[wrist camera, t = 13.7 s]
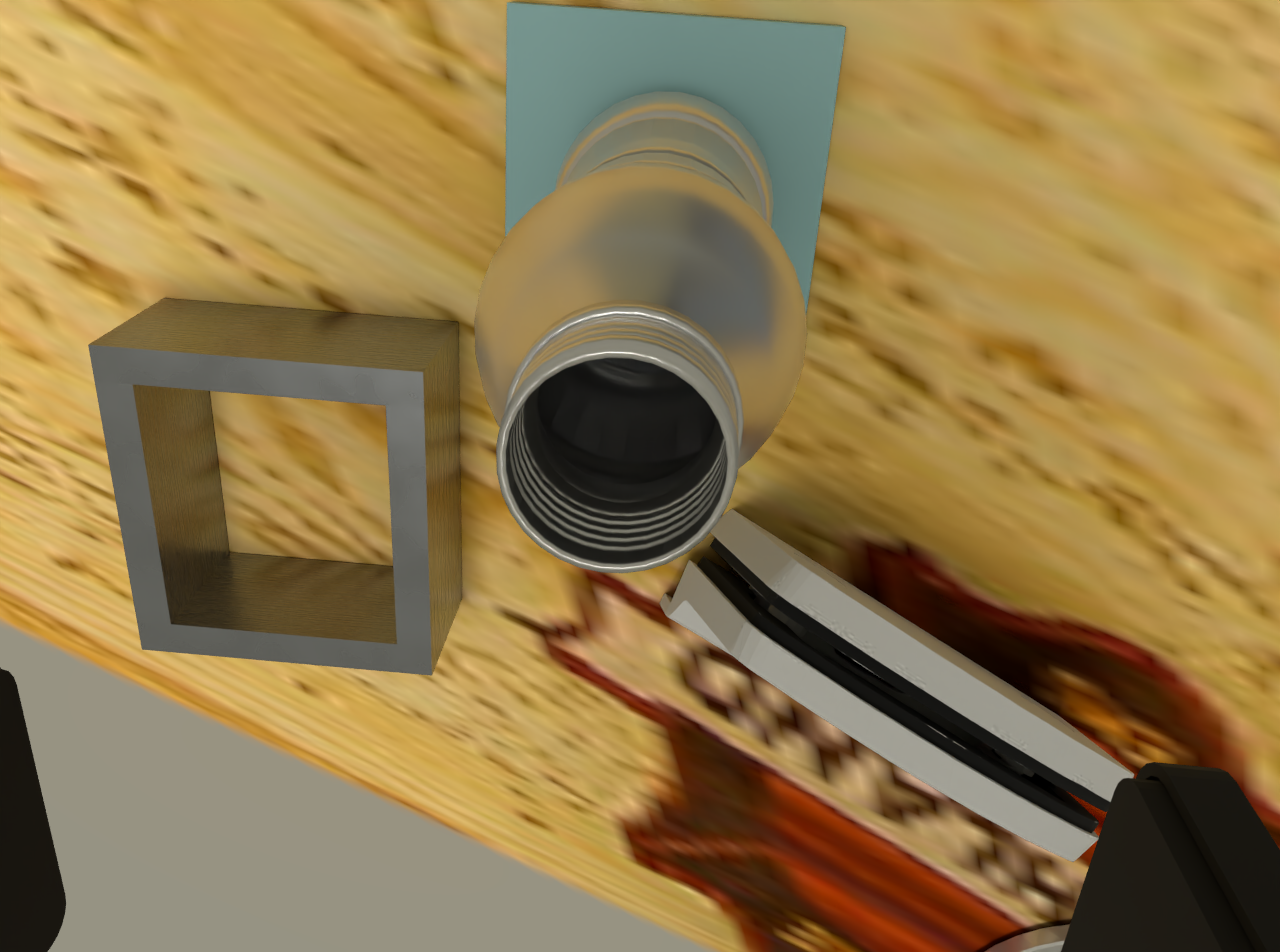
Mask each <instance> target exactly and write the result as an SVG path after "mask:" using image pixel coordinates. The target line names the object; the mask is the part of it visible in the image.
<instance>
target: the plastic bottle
mask: <svg viewBox="0 0 1280 952" xmlns="http://www.w3.org/2000/svg"><path fill="white" fill-rule="evenodd" d="M773 205H774V202H773V191H772V181H771V178H770V174H769V171H768V167H767V164H766V161H765V158H764V156H763V154H762V152H761V151H760V149H759V147H758V145H757V143H756V141H755V139H754V138H753V137H752V136H751V134H750V133H749V132H748V131H747V129H746V128H745V127H744V126H743V125H742V123H741V122H740V121H739V120H737V119H736V118H735V117H734V116H732V115H731V114H730V113H729V112H727V111H726V110H725V109H724V108H722V107H720V106H718V105H716V104H714V103H712V102H710V101H708V100H706V99H704V98H702V97H698V96H694V95H690V94H686V93H682V92H662V91H657V92H651V93H646V94H641V95H635V96H633V97H630V98H628V99H626V100H623V101H621V102H618V103H616V104H614V105H612V106H611V107H609V108H608V109H606V110H605V111H604V112H602V113H601V114H599V115H598V116H596V117H595V118H594V119H593V120H592V121H591V122H590V123H589V124H588V125H587V126H586V127H585V128H584V129H583V130H582V131H581V132H580V133H579V135H578V136H577V138H576V139H575V141H574V142H573V144H572V145H571V147H570V148H569V150H568V152H567V153H566V155H565V158H564V160H563V163H562V165H561V168H560V170H559V173H558V176H557V181H556V186H555V191H554V192H552V193H551V194H549V195H548V196H546V197H545V198H543V199H542V200H541V201H540V202H538V203H537V204H536V205H534V206H533V207H532V208H531V209H530V210H529V211H528V212H527V213H526V214H525V215H524V216H523V217H522V218H521V219H520V220H519V222H518V223H517V224H516V225H515V226H514V227H513V228H512V229H511V230H510V231H509V233H508V234H507V236H506V237H505V239H504V240H503V242H502V243H501V245H500V247H499V248H498V250H497V251H496V253H495V254H494V256H493V257H492V259H491V262H490V265H489V267H488V270H487V272H486V275H485V277H484V280H483V283H482V285H481V288H480V292H479V298H478V303H477V309H476V315H475V321H474V322H475V354H476V358H477V362H478V367H479V371H480V376H481V380H482V384H483V388H484V392H485V397H486V399H487V401H488V404H489V406H490V408H491V410H492V413H493V415H494V417H495V419H496V422H497V424H498V426H499V427H500V429H499V434H498V440H497V475H498V479H499V483H500V488H501V492H502V495H503V497H504V499H505V502H506V504H507V506H508V508H509V510H510V513H511V514H512V516H513V517H514V518H515V520H516V521H517V523H518V524H519V525H520V527H521V528H522V530H523V531H524V532H525V533H526V534H527V535H528V536H529V537H530V538H531V539H532V540H533V541H534V542H536V543H537V544H538V545H539V546H540V547H541V548H543V549H544V550H546V551H547V552H549V553H551V554H552V555H554V556H555V557H557V558H558V559H561V560H563V561H565V562H568V563H570V564H572V565H575V566H577V567H580V568H585V569H589V570H594V571H598V572H609V573H628V572H636V571H644V570H648V569H651V568H654V567H657V566H661V565H664V564H667V563H669V562H671V561H673V560H674V559H676V558H678V557H680V556H682V555H684V554H686V553H687V552H688V551H690V550H691V549H692V548H693V547H695V546H696V545H697V544H698V543H700V542H701V541H702V540H703V539H704V538H705V537H706V536H707V535H708V534H709V532H710V531H711V530H712V529H713V528H714V527H715V525H716V524H717V523H718V521H719V520H720V518H721V516H722V514H723V512H724V510H725V509H726V507H727V505H728V503H729V500H730V498H731V494H732V491H733V488H734V485H735V481H736V478H737V471H738V469H739V468H740V467H741V466H743V465H744V464H745V463H746V462H747V461H749V460H750V459H751V458H752V457H753V455H754V454H755V453H756V452H757V451H758V450H759V448H760V447H761V446H762V445H763V444H764V442H765V441H766V440H767V439H768V438H769V436H770V435H771V434H772V432H773V431H774V429H775V428H776V426H777V425H778V423H779V421H780V419H781V418H782V416H783V414H784V412H785V410H786V409H787V407H788V405H789V403H790V402H791V400H792V398H793V396H794V393H795V390H796V387H797V384H798V381H799V378H800V375H801V371H802V368H803V364H804V356H805V347H806V339H807V326H806V314H805V302H804V298H803V294H802V291H801V288H800V284H799V281H798V278H797V274H796V271H795V268H794V266H793V264H792V262H791V261H790V259H789V257H788V255H787V253H786V251H785V249H784V248H783V246H782V244H781V242H780V240H779V239H778V237H777V236H776V234H775V232H774V230H773V229H772V228H771V226H772V216H773Z"/></svg>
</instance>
